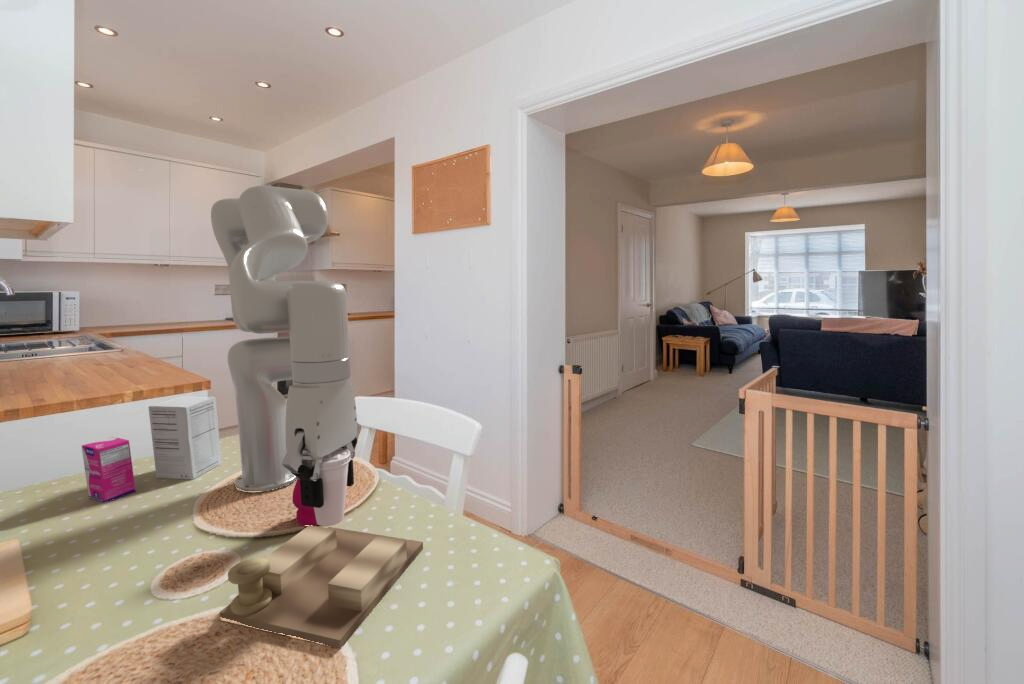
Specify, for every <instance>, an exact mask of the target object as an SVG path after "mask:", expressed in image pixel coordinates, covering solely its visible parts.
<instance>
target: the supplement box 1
mask: <svg viewBox="0 0 1024 684" xmlns="http://www.w3.org/2000/svg"><path fill="white" fill-rule="evenodd" d="M81 453H82V458H83V459H82V460H83V466H84V472H85V473H84V474H85V481H86V487H87V493H88V498H89V497H91V498H90V499H93V498H94V500H96V499H97V500H96V501H99V500H100V502H102V501H103V503H104V502H106V503H108V502H107V501H109V502H111V501H114V500H117V499H118V498H119V497H120V498H122V497H125V496H127V494H128V495H131V494H134V493H135V492H136V483H135V477H134V476H135V475H134V469H133V462H132V461H133V460H132V455H131V445H130V440H129V439H126V438H125V439H124V438H121V437H120V438H119V437H116V436H110V437H106V438H104V439H100V440H96V441H92V442H88V443H85V444H82V445H81ZM124 495H125V496H124ZM116 498H117V499H116ZM113 499H114V500H113ZM110 500H111V501H110Z"/></svg>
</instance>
